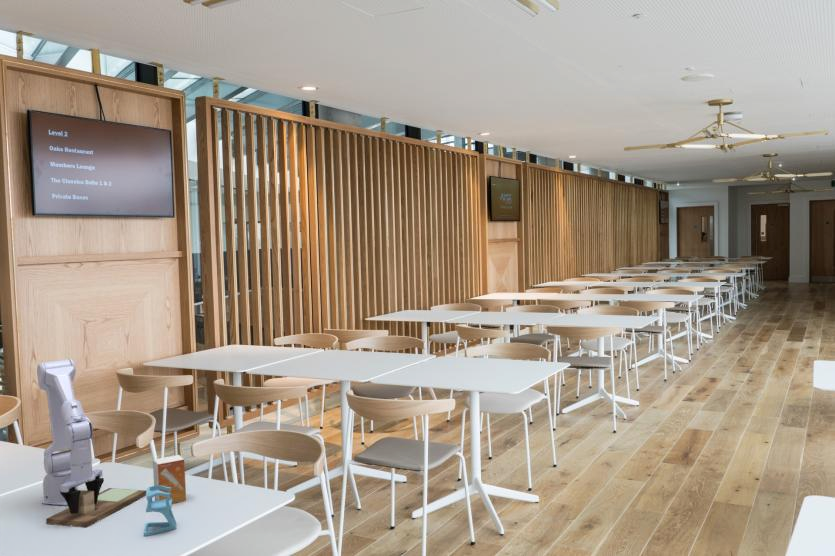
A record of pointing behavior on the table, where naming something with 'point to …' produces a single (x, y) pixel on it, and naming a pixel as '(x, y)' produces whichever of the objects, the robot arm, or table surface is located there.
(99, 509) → the walnut pocket board
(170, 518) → the chair
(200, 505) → the table surface
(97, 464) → the table surface
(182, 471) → the small box
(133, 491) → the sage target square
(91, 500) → the maple block
